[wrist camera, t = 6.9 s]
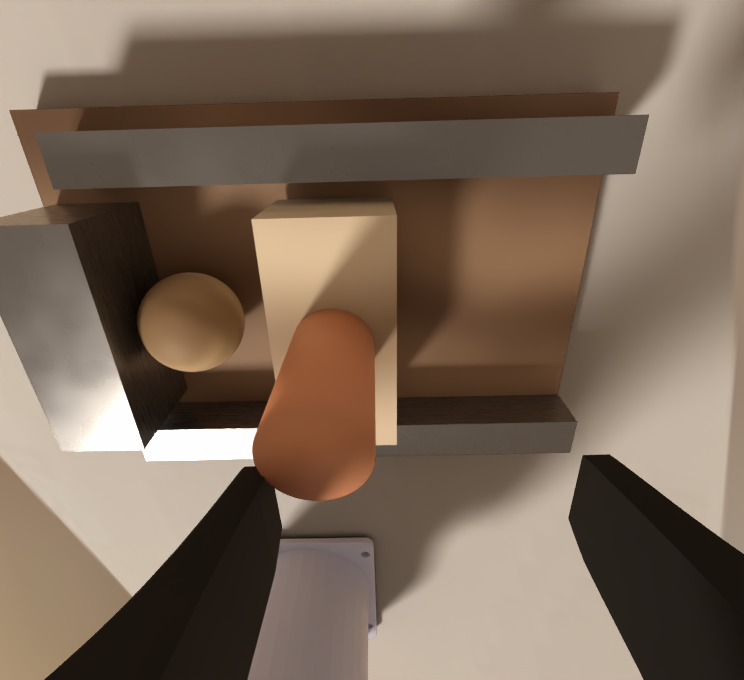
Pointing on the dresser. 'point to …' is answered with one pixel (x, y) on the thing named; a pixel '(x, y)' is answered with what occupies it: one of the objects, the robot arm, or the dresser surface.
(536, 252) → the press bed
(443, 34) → the dresser surface
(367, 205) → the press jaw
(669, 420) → the dresser surface
